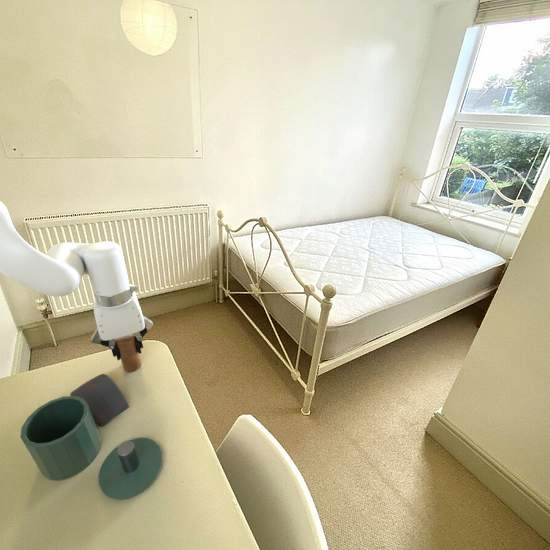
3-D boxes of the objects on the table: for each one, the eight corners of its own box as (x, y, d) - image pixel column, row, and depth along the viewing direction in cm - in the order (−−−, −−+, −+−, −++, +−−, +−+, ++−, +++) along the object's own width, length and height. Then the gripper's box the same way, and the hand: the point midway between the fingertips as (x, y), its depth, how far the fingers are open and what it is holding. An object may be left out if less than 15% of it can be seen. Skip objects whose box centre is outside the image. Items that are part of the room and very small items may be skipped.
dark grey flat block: (101, 377, 79) (98, 365, 77) (133, 404, 72) (129, 393, 70) (68, 398, 73) (63, 386, 71) (98, 430, 66) (94, 418, 64)
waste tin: (38, 491, 55) (17, 457, 50) (42, 442, 63) (24, 409, 58) (103, 463, 60) (89, 429, 55) (99, 421, 68) (86, 388, 63)
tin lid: (102, 514, 53) (92, 494, 49) (97, 457, 61) (89, 436, 58) (168, 481, 58) (163, 460, 55) (156, 432, 66) (151, 411, 63)
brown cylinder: (124, 374, 80) (116, 345, 75) (122, 363, 83) (114, 334, 78) (142, 368, 82) (135, 339, 77) (139, 358, 85) (132, 329, 80)
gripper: (148, 279, 78) (159, 335, 87) (71, 295, 70) (91, 355, 79) (155, 293, 72) (165, 351, 81) (71, 313, 64) (93, 375, 73)
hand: (128, 352), depth 80 cm, fingers closed on brown cylinder, 4 cm apart
